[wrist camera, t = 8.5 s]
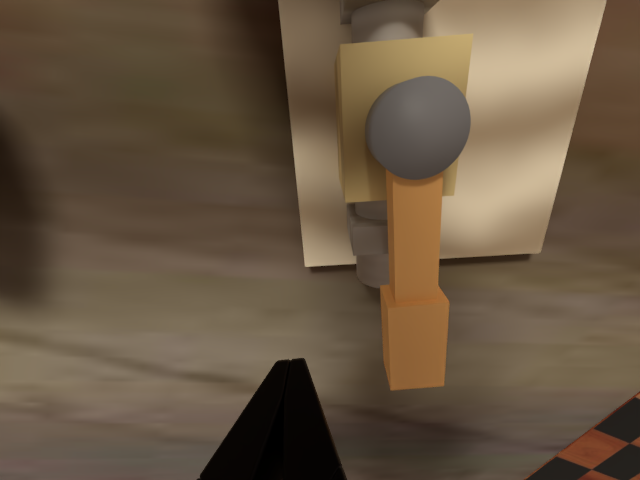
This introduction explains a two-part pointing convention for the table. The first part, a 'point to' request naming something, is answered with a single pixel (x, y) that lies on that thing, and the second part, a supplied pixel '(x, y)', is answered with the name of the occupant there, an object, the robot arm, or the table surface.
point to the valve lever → (416, 220)
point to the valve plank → (482, 97)
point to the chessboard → (601, 450)
